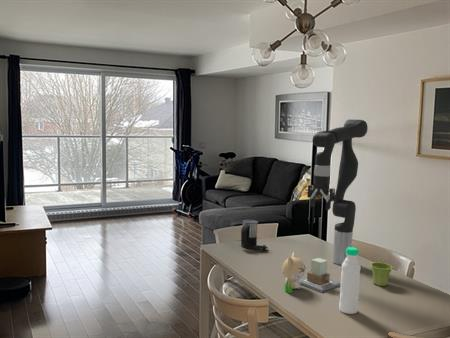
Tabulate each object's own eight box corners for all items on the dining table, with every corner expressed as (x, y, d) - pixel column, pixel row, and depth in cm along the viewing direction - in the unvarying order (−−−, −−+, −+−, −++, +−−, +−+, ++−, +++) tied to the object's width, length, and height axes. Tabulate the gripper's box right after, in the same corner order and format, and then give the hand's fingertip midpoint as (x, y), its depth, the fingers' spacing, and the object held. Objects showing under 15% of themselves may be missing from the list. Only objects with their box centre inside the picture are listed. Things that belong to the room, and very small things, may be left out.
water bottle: (336, 307, 178) (340, 245, 175) (353, 307, 178) (357, 245, 176) (342, 314, 171) (346, 250, 168) (360, 314, 172) (364, 251, 169)
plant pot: (390, 282, 209) (392, 264, 208) (391, 289, 200) (392, 270, 199) (369, 279, 212) (371, 261, 211) (369, 285, 203) (370, 267, 202)
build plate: (315, 276, 212) (315, 273, 212) (340, 285, 202) (340, 282, 202) (295, 282, 203) (296, 279, 203) (321, 292, 193) (321, 289, 193)
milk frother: (242, 243, 266) (243, 219, 264) (268, 245, 263) (270, 220, 262) (239, 250, 252) (240, 224, 250) (267, 252, 249) (268, 226, 248)
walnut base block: (316, 277, 207) (317, 269, 207) (329, 282, 202) (329, 273, 202) (307, 281, 203) (307, 272, 202) (319, 285, 198) (320, 276, 197)
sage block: (317, 270, 205) (318, 257, 205) (326, 273, 202) (327, 260, 201) (310, 272, 202) (311, 259, 202) (319, 275, 198) (320, 262, 198)
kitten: (300, 295, 188) (302, 261, 187) (277, 291, 192) (278, 257, 190) (306, 284, 202) (308, 251, 201) (284, 280, 206) (286, 248, 204)
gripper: (339, 175, 210) (337, 209, 212) (314, 172, 220) (313, 205, 222) (329, 176, 205) (327, 211, 207) (305, 173, 215) (303, 206, 217)
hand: (320, 208), depth 214 cm, fingers open, 8 cm apart
